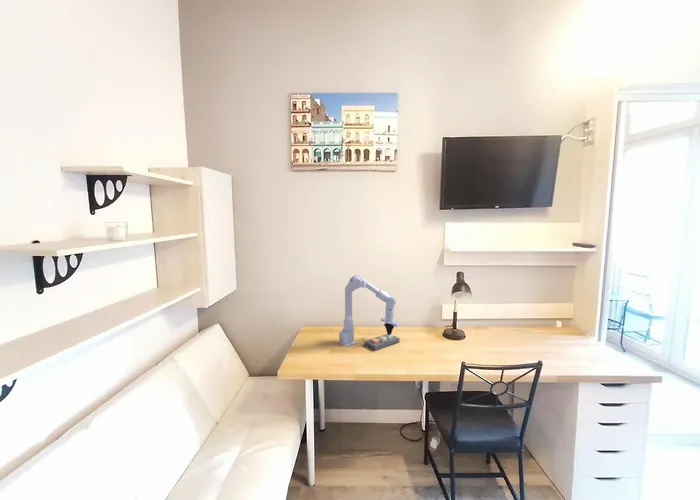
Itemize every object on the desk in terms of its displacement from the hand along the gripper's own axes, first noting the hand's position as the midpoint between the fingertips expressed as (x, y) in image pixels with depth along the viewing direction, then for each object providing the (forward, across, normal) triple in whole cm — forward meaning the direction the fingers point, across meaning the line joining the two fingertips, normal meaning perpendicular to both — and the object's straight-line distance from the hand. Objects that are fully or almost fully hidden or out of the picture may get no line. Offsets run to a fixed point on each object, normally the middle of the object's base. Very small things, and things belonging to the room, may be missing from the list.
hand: (389, 334), depth 216 cm
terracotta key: (+2, 0, +12) cm, 12 cm away
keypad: (+5, 0, +6) cm, 8 cm away
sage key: (+2, 0, 0) cm, 2 cm away
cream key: (+2, 0, +6) cm, 6 cm away
